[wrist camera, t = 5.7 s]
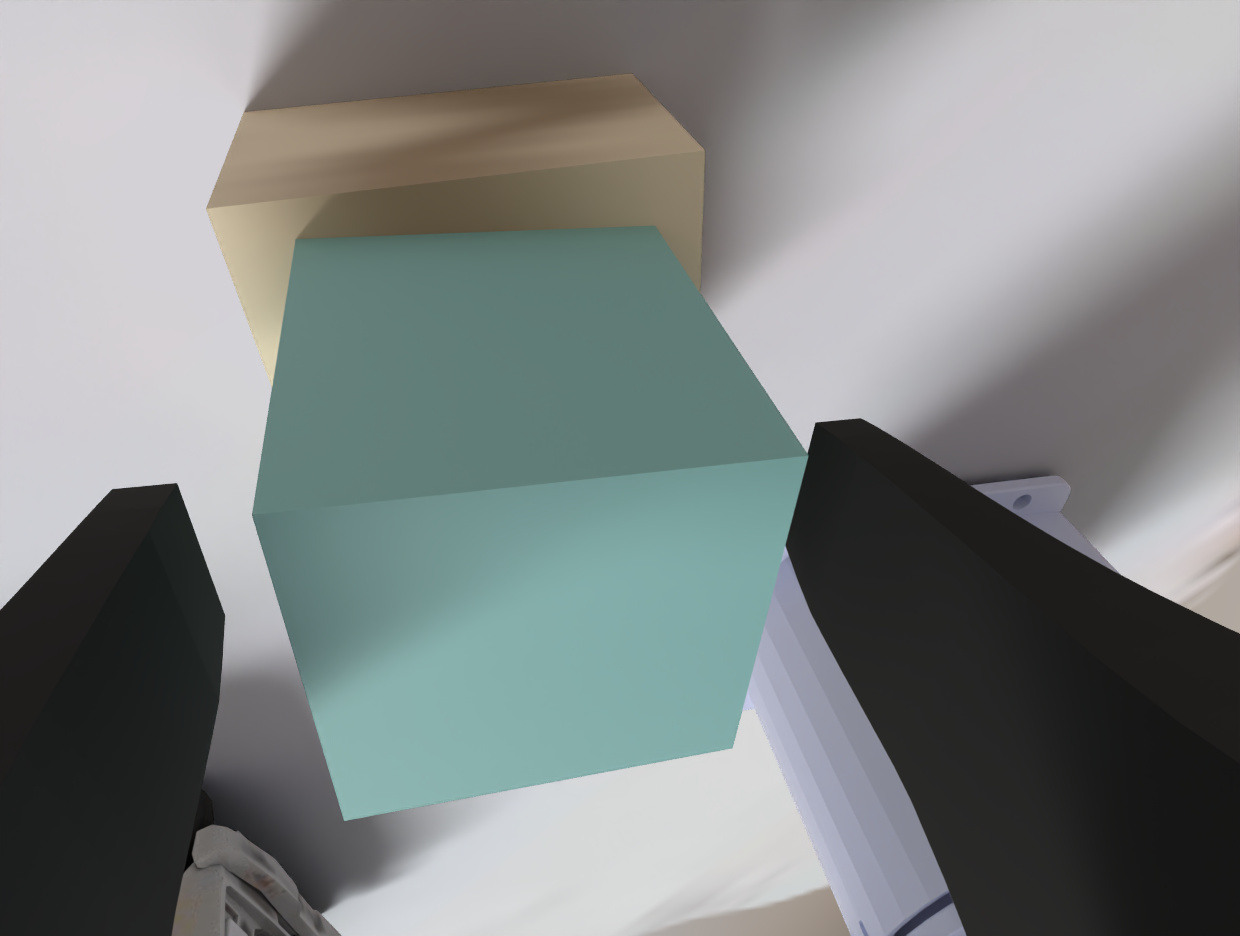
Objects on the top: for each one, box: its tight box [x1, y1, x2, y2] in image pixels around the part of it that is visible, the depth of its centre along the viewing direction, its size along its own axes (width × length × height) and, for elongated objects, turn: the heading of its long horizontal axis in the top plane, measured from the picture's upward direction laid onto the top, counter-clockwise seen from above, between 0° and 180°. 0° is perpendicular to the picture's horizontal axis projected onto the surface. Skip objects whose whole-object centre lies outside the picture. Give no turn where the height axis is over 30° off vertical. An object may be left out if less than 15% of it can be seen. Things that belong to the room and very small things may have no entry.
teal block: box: [252, 226, 808, 821], centre depth 10 cm, size 4×4×5 cm
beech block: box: [206, 73, 705, 386], centre depth 13 cm, size 6×6×4 cm
